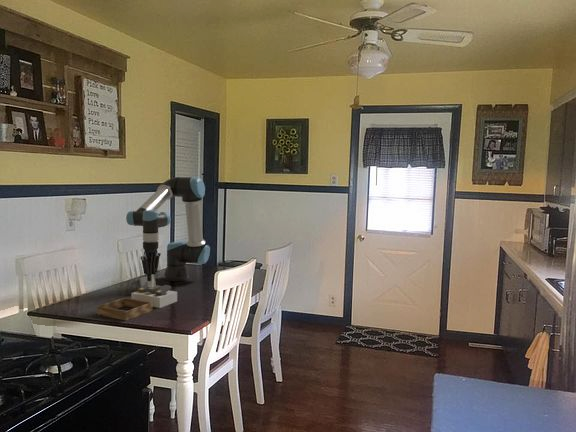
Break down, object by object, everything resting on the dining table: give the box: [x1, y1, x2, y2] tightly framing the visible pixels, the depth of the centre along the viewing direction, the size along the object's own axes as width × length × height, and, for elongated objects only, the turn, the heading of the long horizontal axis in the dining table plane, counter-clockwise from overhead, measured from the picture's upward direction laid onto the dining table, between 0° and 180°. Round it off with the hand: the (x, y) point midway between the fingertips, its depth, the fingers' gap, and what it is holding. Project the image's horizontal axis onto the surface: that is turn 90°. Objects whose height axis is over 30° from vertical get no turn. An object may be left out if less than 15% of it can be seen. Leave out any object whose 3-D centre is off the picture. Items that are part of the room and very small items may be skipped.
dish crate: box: [96, 297, 154, 321], centre depth 229 cm, size 18×18×4 cm
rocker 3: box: [155, 284, 172, 296], centre depth 245 cm, size 8×4×2 cm, turn 156°
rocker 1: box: [137, 283, 150, 293], centre depth 250 cm, size 8×4×2 cm, turn 156°
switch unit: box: [130, 290, 178, 309], centre depth 248 cm, size 14×18×6 cm
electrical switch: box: [137, 276, 157, 289], centre depth 267 cm, size 9×5×9 cm, turn 141°
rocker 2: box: [146, 284, 163, 293], centre depth 248 cm, size 8×4×2 cm, turn 156°
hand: (150, 287), depth 245 cm, fingers closed
